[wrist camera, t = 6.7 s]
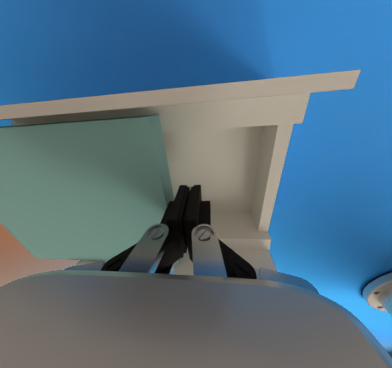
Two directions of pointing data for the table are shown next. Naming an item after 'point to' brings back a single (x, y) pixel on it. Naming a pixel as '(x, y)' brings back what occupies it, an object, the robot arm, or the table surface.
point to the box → (213, 144)
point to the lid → (83, 185)
